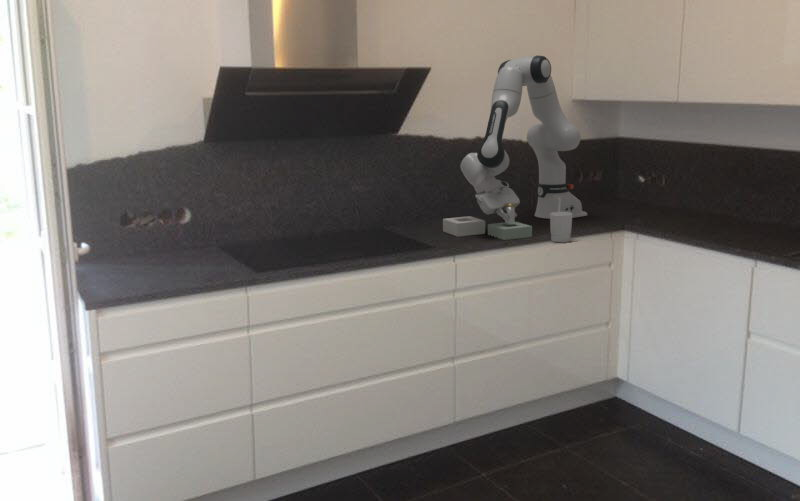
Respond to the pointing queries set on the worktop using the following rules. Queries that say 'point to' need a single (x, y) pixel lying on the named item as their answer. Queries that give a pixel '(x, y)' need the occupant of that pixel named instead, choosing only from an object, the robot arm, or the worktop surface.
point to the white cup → (560, 226)
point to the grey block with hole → (464, 226)
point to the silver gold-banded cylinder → (510, 214)
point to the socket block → (509, 231)
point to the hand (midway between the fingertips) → (511, 218)
